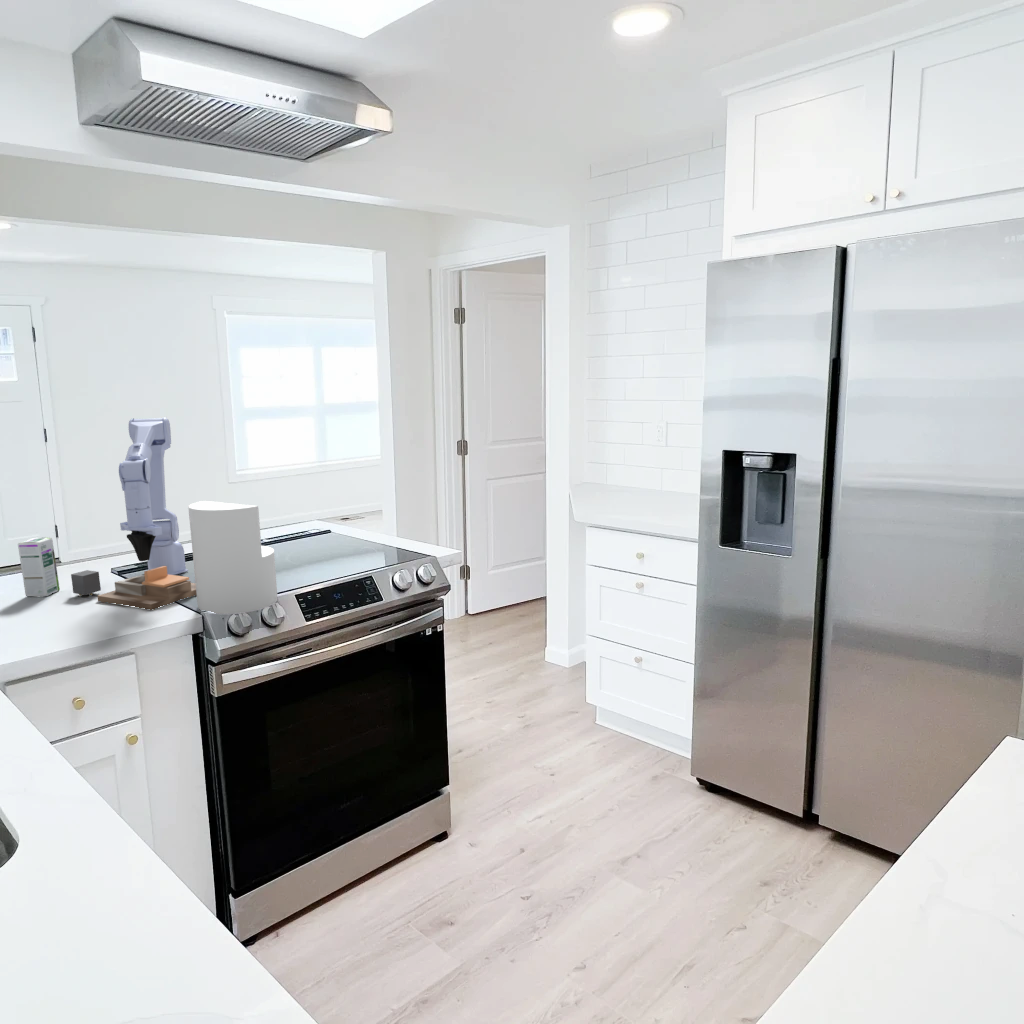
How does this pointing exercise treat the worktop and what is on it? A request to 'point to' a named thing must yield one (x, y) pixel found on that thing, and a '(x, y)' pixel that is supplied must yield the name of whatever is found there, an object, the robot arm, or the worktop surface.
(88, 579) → the plug
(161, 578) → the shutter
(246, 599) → the cylinder
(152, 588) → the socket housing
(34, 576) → the syrup box
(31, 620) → the worktop surface
